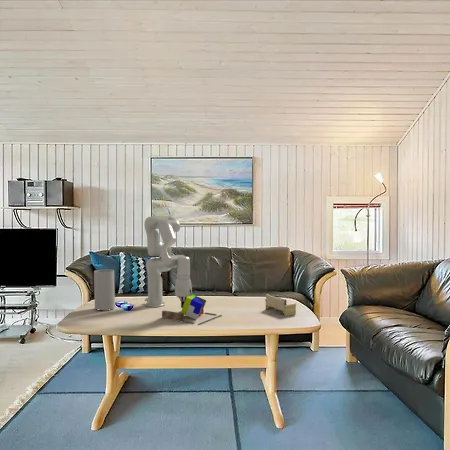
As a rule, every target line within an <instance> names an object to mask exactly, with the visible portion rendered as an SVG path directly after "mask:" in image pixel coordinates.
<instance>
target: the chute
mask: <svg viewBox="0 0 450 450" xmlns="http://www.w3.org/2000/svg"><path fill="white" fill-rule="evenodd" d="M203 314H205V312H204V309H203V311H202V313H201V315H203ZM161 319H167V320H172V321H178V322H182V321H185V315H184V314H183V313H181V312H177V311H169V310H162V311H161Z"/></svg>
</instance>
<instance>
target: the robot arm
mask: <svg viewBox="0 0 450 450" xmlns="http://www.w3.org/2000/svg"><path fill="white" fill-rule="evenodd" d="M143 223H144V231H145V234H146V243H147V247H146V248H147V254H148V255H149V256H151V257H154V258H149V259H148V260H147V261H146V263H145V267H146V272H147V294H148V295H147V297H145V298H144V302H146V303H145V306H146V307H149V308H159V307H164V306H165V305H166V302H164V300H163V278H162V276H161V274H160V273H163V272H169V271H171V269H173V268H175V269H176V268H177V270H176V272H177V273H176V277H177V278H176V279H175V284H174V285H175V286H174V295H175V296H176V298H178V299H179V301H180V307H181V309H182V308H183V305H184V303H185V300H186V297H188V296H191V295H192V294H193V289H192V288H193V287H192V280H191V258H190V257H189V256H186V255H184V254H172V246H173V245H175V244H176V243H177V237H176V235H175V233H179V231H180V230H181V225H180V221H178V219H177V218H176V219H175V218H173V217H172V216H169V215H154V216H153V215H152V216H148V217H146V218H145V220H144V222H143Z"/></svg>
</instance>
